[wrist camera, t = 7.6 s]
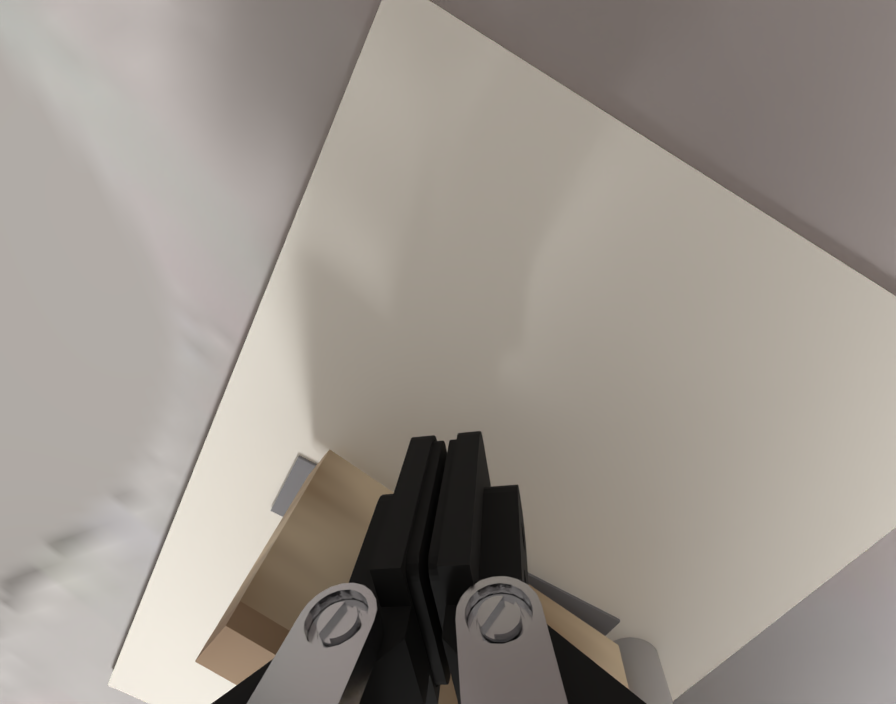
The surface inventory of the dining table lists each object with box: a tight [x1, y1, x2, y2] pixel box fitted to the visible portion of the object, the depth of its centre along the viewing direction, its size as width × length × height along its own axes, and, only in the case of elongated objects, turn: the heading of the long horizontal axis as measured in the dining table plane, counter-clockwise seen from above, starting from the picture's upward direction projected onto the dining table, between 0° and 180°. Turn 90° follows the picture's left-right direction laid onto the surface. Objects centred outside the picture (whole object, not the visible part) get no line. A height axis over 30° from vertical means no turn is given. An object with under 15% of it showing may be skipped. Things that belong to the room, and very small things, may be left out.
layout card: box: [108, 0, 896, 704], centre depth 13 cm, size 27×18×7 cm, turn 151°
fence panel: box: [195, 449, 629, 704], centre depth 12 cm, size 11×1×6 cm, turn 53°
